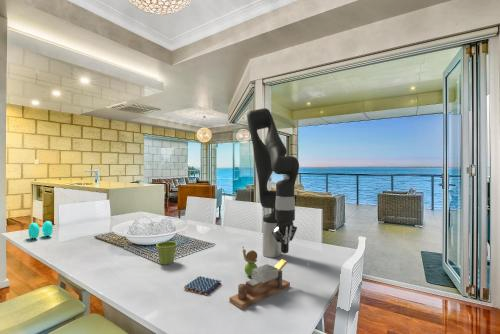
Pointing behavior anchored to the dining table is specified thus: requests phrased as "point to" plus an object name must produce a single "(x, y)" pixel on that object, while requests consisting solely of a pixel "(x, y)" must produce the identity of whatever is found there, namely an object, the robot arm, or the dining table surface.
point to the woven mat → (202, 285)
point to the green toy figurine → (250, 261)
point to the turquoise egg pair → (46, 229)
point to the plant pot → (166, 252)
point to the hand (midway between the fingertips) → (284, 252)
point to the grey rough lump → (264, 273)
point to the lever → (281, 264)
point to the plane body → (257, 291)
